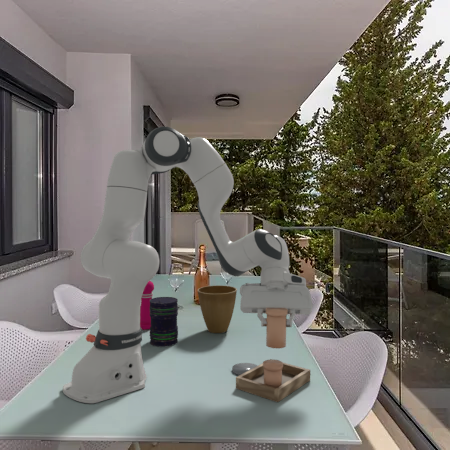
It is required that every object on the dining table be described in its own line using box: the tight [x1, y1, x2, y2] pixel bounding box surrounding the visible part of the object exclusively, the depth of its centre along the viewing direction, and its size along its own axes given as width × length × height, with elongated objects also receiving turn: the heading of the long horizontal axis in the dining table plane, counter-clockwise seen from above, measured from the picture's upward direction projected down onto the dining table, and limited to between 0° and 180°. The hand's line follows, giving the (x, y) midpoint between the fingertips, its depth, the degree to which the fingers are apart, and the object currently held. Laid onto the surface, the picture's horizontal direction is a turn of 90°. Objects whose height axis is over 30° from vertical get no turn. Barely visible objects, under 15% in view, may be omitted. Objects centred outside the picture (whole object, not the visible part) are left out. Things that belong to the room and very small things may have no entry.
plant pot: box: [197, 284, 238, 334], centre depth 169 cm, size 15×15×16 cm
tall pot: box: [265, 308, 289, 349], centre depth 122 cm, size 6×6×10 cm
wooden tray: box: [235, 358, 311, 403], centre depth 121 cm, size 17×13×3 cm
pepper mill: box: [140, 280, 155, 331], centre depth 173 cm, size 7×7×20 cm
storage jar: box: [149, 296, 179, 348], centre depth 155 cm, size 10×10×15 cm
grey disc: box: [231, 362, 258, 376], centre depth 130 cm, size 8×8×1 cm
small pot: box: [262, 358, 284, 388], centre depth 115 cm, size 5×5×7 cm
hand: (276, 325), depth 122 cm, fingers closed on tall pot, 5 cm apart
